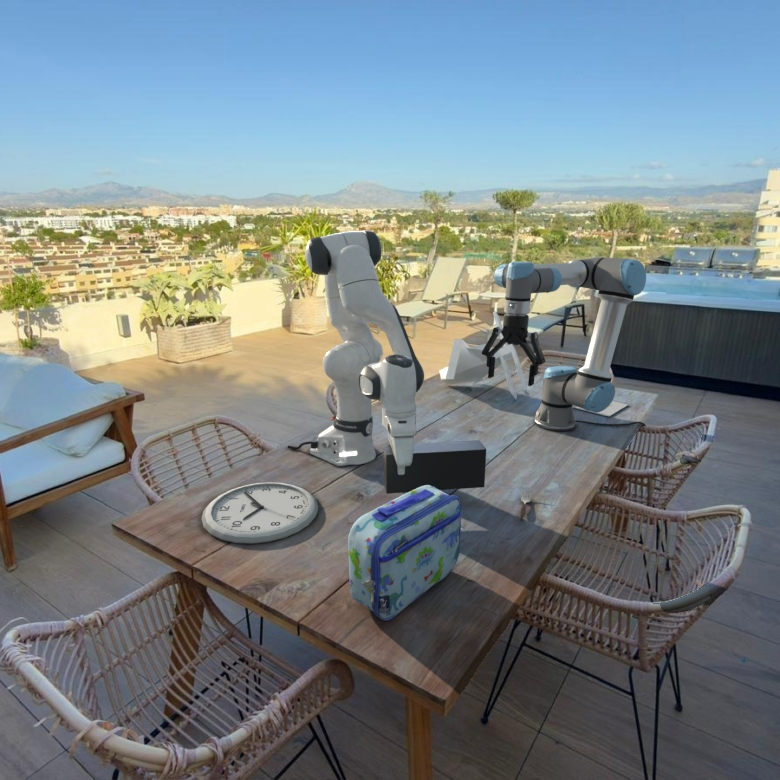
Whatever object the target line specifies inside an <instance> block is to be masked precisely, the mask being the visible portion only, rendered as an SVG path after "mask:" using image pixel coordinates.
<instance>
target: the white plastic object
mask: <svg viewBox="0 0 780 780" xmlns="http://www.w3.org/2000/svg"><path fill="white" fill-rule="evenodd" d="M492 315H493V319H494V321H495V324H496V325H495V326H496V327H499V328H501V329H503V323H502V321H501V318H500V315H499V314H498V312H497V311H496V310H495V311H492ZM498 336H499V338H500V340H501V339H502V338H503V335H502V333H500V334H499V335H498ZM486 344H487V343H483V344H479V345H473V346H469V345H468V343H466V342H465V340H464V339H463V338H460V339H458V338H454V340H453V344H452V349H451V353H450V357H449V362H448V366H446V367H444V368H442V369H440V370H439V371H438V372H439V376H440V381H442V383H443V384H444V385H445V386H449V385H458V384H467V383H468V384H469V383H473V384H477V383H480V382H482V381H484V378H485V377H486V376H488V370H489V367H487V356H485V355H482V351H483V349H484V347H485V345H486ZM492 349H493V348H492V347H491V349H490V350H489V352H490V351H491V350H492ZM492 357H495V368H494V370H496V369H497V368H499V367H500V366H502V370H503V373H504V376H505V380H506V383H507V386H508V390H509V393H510V394H511V395H512V397H513V398H514V399H515V400H517V392H516V391H517V390H516V388H515V385H514V381H513V378H512V375H511V371H510V369H509V365H508V361H510V360H513V363H514V366H515V369H516V372H517V376H518V380H519V382H520V385H521V389H522V391H523V393H524V395H525V396H526V397H528V396H531V395H530V390H529V388H528V387H529V386H528V383H527V381H526V378H525V375H524V371H523V369H522V368H523V367H522V366H521V362H520V359H519V355H518V352H517V349H516V347H515V345H514V344H508V343H505V344H504V345H503V346H502V347H501V348H500V349H499V350H498V351H497V352H496V353H495V354H494V356H492Z"/></svg>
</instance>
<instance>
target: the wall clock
mask: <svg viewBox="0 0 780 780" xmlns="http://www.w3.org/2000/svg"><path fill="white" fill-rule="evenodd" d="M318 511H319V505H318V501H317V499H316V498H315V496H314V495H313V494H312V493H310V492H309V491H307V490H306V489H304V488H302V487H299V486H297V485H294V484H290V483H285V482H271V481H269V482H256V483H250V484H246V485H242V486H239V487H235V488H233V489H229V490H227V491H226V492H224V493H221V494H219V495H218V496H217V497H216V498H214V499H213V500H211V502H209V503H208V504H207V506H206V507H205V508H204V510H203V511H202V515H201V523H202V527H203V528H204V530H205V531H207V532H208V533H209V535H211V536H213V537H214V538H217V539H219V540H221V541H225V542H230V543H233V544H234V543H235V544H260V543H261V544H262V543H270V542H273V541H277V540H282V539H285V538H287V537H289V536H292V535H294V534H297V533H299V532H300V531H302V530H303V529H304V528H306V527H308V526H309V525H310V524H311V523H312V522H313V521H314V519H315V518H316V516H317V514H318Z"/></svg>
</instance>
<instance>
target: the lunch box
mask: <svg viewBox="0 0 780 780" xmlns="http://www.w3.org/2000/svg"><path fill="white" fill-rule="evenodd" d="M461 520H462V506H461V500H460V498H459V497H458V496H457V495H454V494H450V495H449V494H448V493H445V492H444V491H443V490H438V489H436V488H435V487H433V486H430V485H424V486H421V487H419V488H416V489H414V490H412V491H410V492H405V493H404V494H402V495H400V496H398V497H396V498H394V499H392V500H390V501H388V502H386V503H384V504H382V505H380V506H378V507H377V508H375V509H372V510H371V511H368V512H367V513H365V514H362V515H361V516H359V517H357V519H356V520H355V521H354V523H353V524H352V526H351V528H350V530H349V533H348V536H347V537H348V538H347V557H348V559H347V560H348V586H349V592H350V597H351V599H352V600H353V601H355V602H356V603H358V604H360V605H362V606H364V607H365V608H366V609H368V610H369V611H371V612H372V613H374V615H375V616H376V617H377V618H379V619H380V620H383V621H390V620H393V619H394V618H395V617H397V616H398V615H399V614H400V613H401V612H402V611H403V610H405V609H406V608H407V607H408V606H409V605H411V604H412V603H414V602H415V601H416V600H417V599H419V598H420V597H421V596H422V595H424V594H425V593H426V592H427V591H429V589H431V588H432V587H433V586H435V585H436V584H438V583H439V582H440V581H442V580H444V579H445V578H446V577H448V575H450V573H451V572H452V571H453V570H454V568H455V566H456V564H457V562H458V559H459V555H460V552H461V551H460V549H461V535H462V534H461V533H462V521H461Z"/></svg>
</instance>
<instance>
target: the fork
mask: <svg viewBox="0 0 780 780" xmlns="http://www.w3.org/2000/svg"><path fill="white" fill-rule="evenodd" d="M532 491H533V489H530V490H528V491H527V488H526V489H523V491H522V494H521V497H520V500H521V502H522V503H523V505H522V507H521V508H520V521H522V520H523V518H524V515H525V513H526V508H527V507H526V505H527V503H530V502H531V500H532Z"/></svg>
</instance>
